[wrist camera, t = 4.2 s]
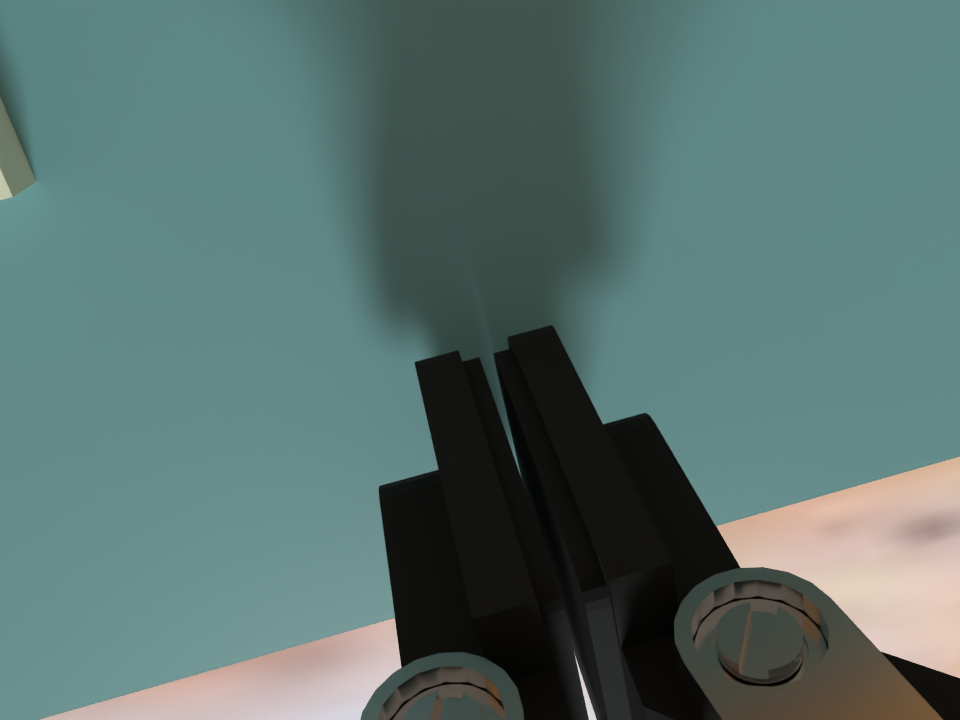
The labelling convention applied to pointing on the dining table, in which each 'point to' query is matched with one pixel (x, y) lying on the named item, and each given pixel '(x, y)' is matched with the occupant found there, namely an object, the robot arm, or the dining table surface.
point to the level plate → (434, 282)
